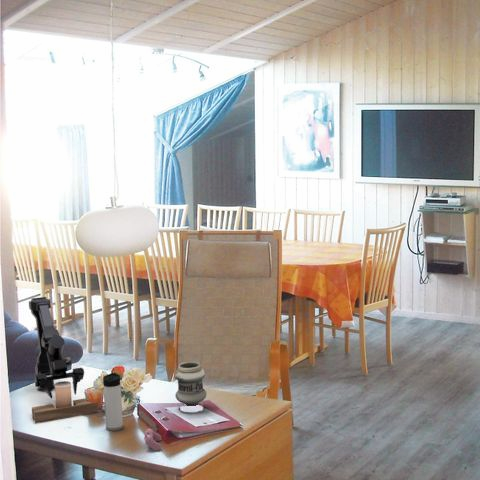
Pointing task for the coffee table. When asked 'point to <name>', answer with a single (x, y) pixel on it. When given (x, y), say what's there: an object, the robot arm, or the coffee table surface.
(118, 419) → the travel mug
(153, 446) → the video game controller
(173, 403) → the coffee table surface
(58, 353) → the robot arm
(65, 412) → the bar
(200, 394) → the apothecary jar
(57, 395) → the pink cylinder
